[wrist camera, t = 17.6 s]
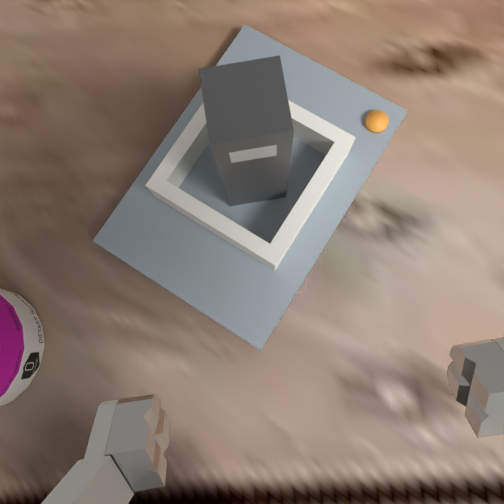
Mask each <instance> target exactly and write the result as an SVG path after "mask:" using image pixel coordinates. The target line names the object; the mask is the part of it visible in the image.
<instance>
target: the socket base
mask: <svg viewBox="0 0 504 504" xmlns="http://www.w3.org/2000/svg"><path fill="white" fill-rule="evenodd" d="M279 55H280V59H281V64H282V69H283V75H284V80H285V86H286V91H287V96H288V102H289V107H290V113H291V118H292V123H293V129H294V134H293V143H292V151H291V160H290V168H289V177H288V185H287V194H286V197H284V198H278V199H272V200H266V201H259V202H253V203H247V204H241V205H234V206H230V205H229V202H228V199H227V196H226V193H225V190H224V187H223V184H222V181H221V178H220V175H219V172H218V168H217V165H216V162H215V159H214V156H213V153H212V150H211V147H210V144H209V137H208V130H207V123H206V116H205V109H204V102H203V95H202V88H201V87H200V89H199V90H198V92H197V93H196V95H195V96H194V97H193V99H192V100H191V102H190V103H189V104H188V106H187V107H186V109H185V110H184V112H183V113H182V114H181V116H180V117H179V119H178V120H177V122H176V123H175V124H174V126H173V127H172V129H171V130H170V131H169V133H168V134H167V136H166V137H165V139H164V140H163V141H162V143H161V144H160V146H159V147H158V149H157V150H156V151H155V153H154V154H153V156H152V157H151V158H150V160H149V161H148V163H147V164H146V166H145V167H144V168H143V170H142V171H141V173H140V174H139V176H138V177H137V178H136V180H135V181H134V183H133V184H132V185H131V187H130V188H129V190H128V191H127V193H126V194H125V195H124V197H123V198H122V200H121V201H120V203H119V204H118V205H117V207H116V208H115V210H114V211H113V212H112V214H111V215H110V217H109V218H108V220H107V221H106V222H105V224H104V225H103V227H102V228H101V230H100V231H99V232H98V234H97V235H96V237H95V238H94V239H93V242H95V243H96V244H98V245H99V246H101V247H102V248H104V249H105V250H107V251H109V252H110V253H112V254H113V255H115V256H116V257H118V258H119V259H121V260H122V261H124V262H125V263H127V264H128V265H130V266H132V267H133V268H135V269H136V270H138V271H139V272H141V273H142V274H144V275H145V276H147V277H148V278H150V279H151V280H153V281H155V282H156V283H158V284H159V285H161V286H162V287H164V288H165V289H167V290H168V291H170V292H171V293H173V294H174V295H176V296H178V297H179V298H181V299H182V300H184V301H185V302H187V303H188V304H190V305H191V306H193V307H194V308H196V309H197V310H199V311H201V312H202V313H204V314H205V315H207V316H208V317H210V318H211V319H213V320H214V321H216V322H217V323H219V324H220V325H222V326H224V327H225V328H227V329H228V330H230V331H231V332H233V333H234V334H236V335H237V336H239V337H240V338H242V339H243V340H245V341H247V342H248V343H250V344H251V345H253V346H254V347H256V348H257V349H259V350H260V351H261V349H262V347H263V346H264V344H265V343H266V341H267V339H268V338H269V336H270V334H271V333H272V331H273V330H274V328H275V326H276V325H277V323H278V321H279V320H280V318H281V317H282V315H283V313H284V312H285V310H286V308H287V307H288V305H289V304H290V302H291V300H292V299H293V297H294V295H295V294H296V292H297V291H298V289H299V287H300V286H301V284H302V282H303V281H304V279H305V278H306V276H307V274H308V273H309V271H310V269H311V268H312V266H313V265H314V263H315V261H316V260H317V258H318V256H319V255H320V253H321V252H322V250H323V248H324V247H325V245H326V243H327V242H328V240H329V239H330V237H331V235H332V234H333V232H334V230H335V229H336V227H337V226H338V224H339V222H340V221H341V219H342V217H343V216H344V214H345V213H346V211H347V209H348V208H349V206H350V204H351V203H352V201H353V200H354V198H355V196H356V195H357V193H358V191H359V190H360V188H361V187H362V185H363V183H364V182H365V180H366V178H367V177H368V175H369V174H370V172H371V170H372V169H373V167H374V165H375V164H376V162H377V161H378V159H379V157H380V156H381V154H382V152H383V151H384V149H385V148H386V146H387V144H388V143H389V141H390V139H391V138H392V136H393V135H394V133H395V131H396V130H397V128H398V126H399V125H400V123H401V122H402V120H403V118H404V117H405V115H406V113H407V112H408V111H407V110H405V109H403V108H402V107H400V106H398V105H396V104H394V103H392V102H390V101H388V100H386V99H385V98H383V97H381V96H379V95H377V94H375V93H373V92H371V91H370V90H368V89H366V88H364V87H362V86H360V85H358V84H356V83H354V82H353V81H351V80H349V79H347V78H345V77H343V76H341V75H339V74H338V73H336V72H334V71H332V70H330V69H328V68H326V67H324V66H322V65H321V64H319V63H317V62H315V61H313V60H311V59H309V58H307V57H306V56H304V55H302V54H300V53H298V52H296V51H294V50H292V49H290V48H289V47H287V46H285V45H283V44H281V43H279V42H277V41H275V40H274V39H272V38H270V37H268V36H266V35H264V34H262V33H260V32H258V31H257V30H255V29H253V28H251V27H249V26H247V25H244V26H243V28H242V29H241V31H240V32H239V33H238V35H237V36H236V38H235V39H234V41H233V42H232V43H231V45H230V46H229V48H228V49H227V50H226V52H225V53H224V55H223V56H222V58H221V59H220V60H219V62H218V63H217V65H216V66H219V65H225V64H231V63H237V62H243V61H249V60H255V59H261V58H267V57H273V56H279Z"/></svg>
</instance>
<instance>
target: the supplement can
mask: <svg viewBox="0 0 504 504" xmlns="http://www.w3.org/2000/svg"><path fill="white" fill-rule="evenodd" d="M44 348H45V345H44V335H43V326H42V324H41V322H40V320H39V318H38V315H37V313H36V311H35V309H34V308H33V307H32V306H31V305H30V304H29V303H28V302H27V301H26V300H24V299H23V298H22V297H21V296H20V295H18V294H15V293H12V292H10V291H7V290H4V289H1V288H0V406H2V405H4V404H7V403H10V402H11V401H13V400H14V399H15V398H16V397H17V396H18V395H20V394H21V393H22V392H23V391H24V390H25V389H27V388H28V386H29V385H30V383H31V381H32V380H33V378H34V377H35V375H36V373H37V372H38V370H39V368H40V364H41V360H42V356H43V352H44Z"/></svg>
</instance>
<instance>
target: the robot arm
mask: <svg viewBox="0 0 504 504" xmlns="http://www.w3.org/2000/svg"><path fill="white" fill-rule="evenodd" d="M450 356H451V358H452V359H453V362H452V363H451V364H450V365H448V369H447V378H448V383H449V386H450V389H451V392H452V394H453V395H454V397H455V399H456V401H458V402H460V403H461V404H463V405H464V406H466V410H465V417H466V418H467V420H468V422H469V424H470V425H471V427H472V429H473V431H474V432H475V434H476V436H477V438H478V437H486V436H494V435H502V434H504V337H502V338H496V339H491V340H489V339H488V340H482V341H476V342H470V343H465V344H459V345H454V346H453V347H452V348H451V351H450ZM160 402H161V401H160V399H159V397H158V395H157V394H154V395H146V396H139V397H131V398H124V399H117V400H110V401H103V402H101V404H100V405H99V407H98V409H97V412H96V416H95V420H94V423H93V427H92V431H91V434H90V438H89V442H88V445H87V449H86V453H85V456H84V459H82V460H78V461H77V462H76V464H75V465H74V466H73V467H72V468H71V469H70V471H69V472H68V473H67V474H66V475H65V476H64V477H63V479H62V480H61V481H60V482H59V483H58V484H57V486H56V487H55V488H54V489H53V490H52V491H51V493H50V494H49V495H48V496H47V497H46V498H45V500H44V501H43V502H42V503H41V504H128V503H129V502H130V500H131V498H132V497H133V495H134V493H133V492H137V491H142V490H148V489H153V488H159V487H164V486H165V480H166V470H167V460H166V458H165V456H164V454H163V453H164V452H165V450H166V449H167V448H168V446H169V438H170V432H169V422H168V418H167V415H166V413H165V411H163V410H162V409H160Z"/></svg>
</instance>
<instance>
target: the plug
mask: <svg viewBox="0 0 504 504" xmlns="http://www.w3.org/2000/svg"><path fill="white" fill-rule="evenodd" d="M199 74H200V81H201V88H202V95H203V102H204V109H205V116H206V123H207V130H208V137H209V144H210V147H211V150H212V153H213V156H214V159H215V162H216V165H217V168H218V172H219V175H220V178H221V181H222V184H223V187H224V190H225V193H226V196H227V199H228V202H229V205H230V206H234V205H241V204H247V203H253V202H259V201H266V200H272V199H278V198H284V197H286V194H287V185H288V177H289V168H290V160H291V151H292V143H293V134H294V129H293V123H292V118H291V113H290V107H289V102H288V96H287V91H286V86H285V80H284V75H283V69H282V64H281V59H280V55H279V56H273V57H267V58H261V59H255V60H249V61H243V62H237V63H231V64H225V65H219V66H213V67H207V68H201V69H199Z"/></svg>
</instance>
